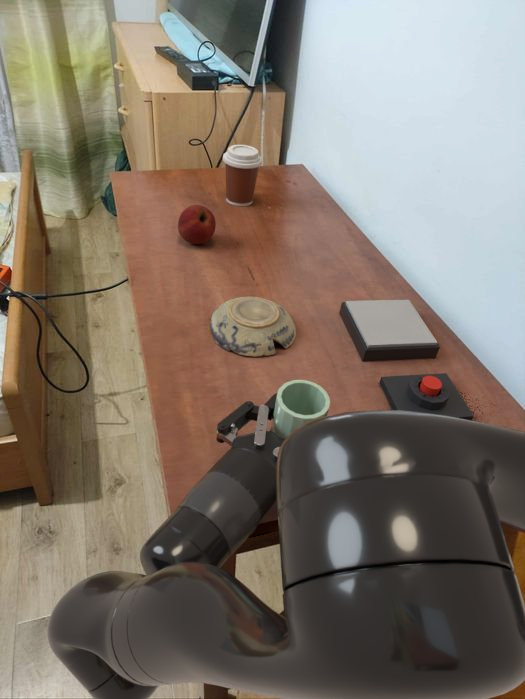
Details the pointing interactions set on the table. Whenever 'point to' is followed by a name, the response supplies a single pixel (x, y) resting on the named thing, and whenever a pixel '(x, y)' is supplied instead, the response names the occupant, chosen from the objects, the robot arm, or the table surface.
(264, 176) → the table surface
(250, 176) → the coffee cup
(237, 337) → the decorative bowl
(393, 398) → the panel
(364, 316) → the scale
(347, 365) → the table surface
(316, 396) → the cup
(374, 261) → the table surface
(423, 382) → the button
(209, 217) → the apple
